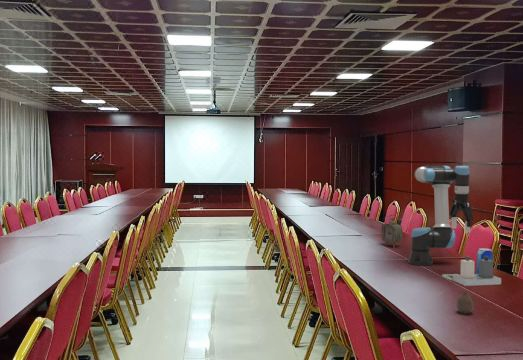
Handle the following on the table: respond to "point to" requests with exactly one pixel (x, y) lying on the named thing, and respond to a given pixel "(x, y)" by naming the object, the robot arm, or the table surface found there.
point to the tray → (448, 275)
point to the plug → (467, 268)
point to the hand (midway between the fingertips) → (460, 230)
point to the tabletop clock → (391, 232)
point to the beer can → (481, 254)
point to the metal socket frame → (477, 280)
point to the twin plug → (485, 267)
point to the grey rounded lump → (464, 303)
